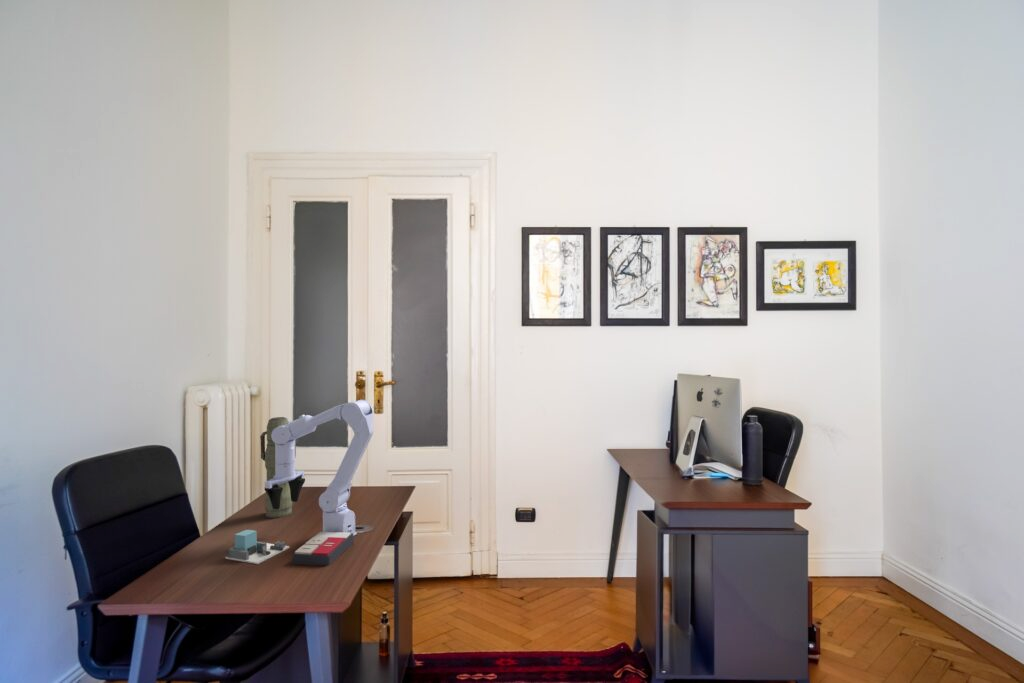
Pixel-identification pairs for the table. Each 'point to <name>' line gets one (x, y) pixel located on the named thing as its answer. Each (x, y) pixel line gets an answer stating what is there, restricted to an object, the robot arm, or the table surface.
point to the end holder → (241, 553)
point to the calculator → (323, 548)
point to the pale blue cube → (246, 541)
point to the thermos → (270, 466)
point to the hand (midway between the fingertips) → (285, 504)
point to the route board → (264, 553)
